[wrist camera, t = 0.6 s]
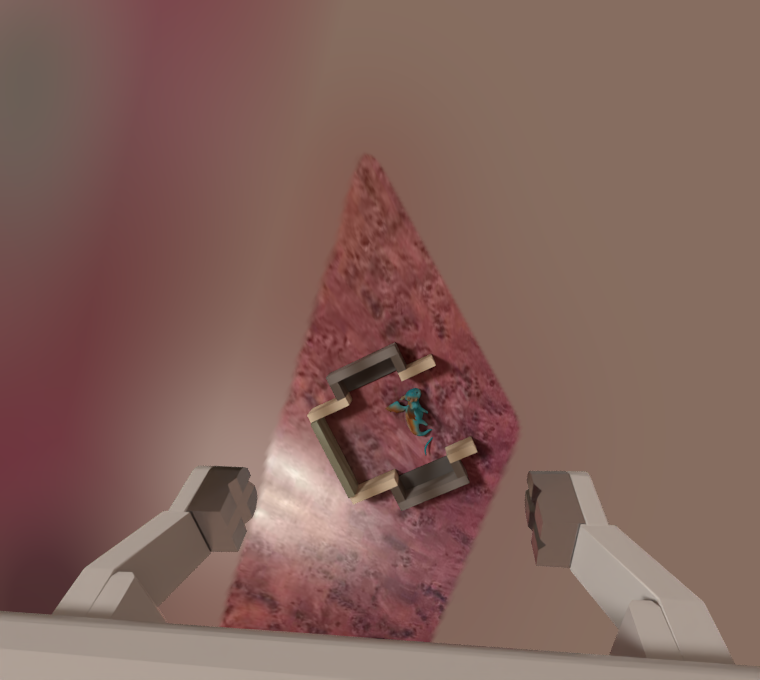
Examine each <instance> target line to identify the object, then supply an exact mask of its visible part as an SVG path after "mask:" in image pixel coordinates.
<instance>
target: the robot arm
mask: <svg viewBox="0 0 760 680" xmlns="http://www.w3.org/2000/svg"><path fill="white" fill-rule="evenodd" d="M250 476H251V475H250V472H249V470H248V468H245V467H225V466H198V467H196V468H195V469H194V470H193V471H192V473H191V474H190V476H189V478H188V479H187V481H186V483H185V484H184V486H183V488H182V489H181V491H180V492H179V494H178V496H177V497H176V499H175V501H174V503H173V504H172V506H171V507H170V509H169V510H168V511H163V512H162V513H160V514H159V515H158V516H156V517H155V518H153V519H152V520H151V521H149V522H148V523H146V524H145V525H144V526H142V527H141V528H139V529H138V530H137V531H135V532H134V533H133V534H131V535H130V536H128V537H127V538H126V539H124V540H123V541H121V542H120V543H119V544H117V545H116V546H114V547H113V548H112V549H110V550H109V551H108V552H106V553H105V554H103V555H102V556H101V557H99V558H98V559H96V560H95V561H94V562H92V563H91V564H90V565H88V566H87V567H85V568H84V570H83V571H82V572H81V574H80V575H79V577H78V578H77V580H76V581H75V582H74V584H73V585H72V587H71V588H70V589H69V591H68V592H67V594H66V595H65V597H64V598H63V599H62V601H61V602H60V603H59V605H58V606H57V608H56V609H55V611H54V612H53V613H52V615H47V614H46V615H45V614H32V613H19V612H5V611H0V680H760V666H747V665H735V663H734V661H733V659H732V657H731V655H730V653H729V651H728V649H727V647H726V645H725V643H724V641H723V639H722V637H721V635H720V633H719V631H718V629H717V627H716V625H715V623H714V621H713V619H712V617H711V615H710V613H709V612H708V609H707V607H706V605H705V604H704V602H703V601H702V600H701V599H699V598H698V597H697V596H696V595H695V594H694V593H692V592H691V591H690V590H689V589H688V588H687V587H686V586H684V585H683V584H682V583H681V582H680V581H679V580H678V579H677V578H675V577H674V576H673V575H672V574H671V573H670V572H668V571H667V570H666V569H665V568H664V567H663V566H662V565H660V564H659V563H658V562H657V561H656V560H655V559H654V558H652V557H651V556H650V555H649V554H648V553H647V552H646V551H644V550H643V549H642V548H641V547H640V546H639V545H637V544H636V543H635V542H634V541H633V540H632V539H631V538H629V537H628V536H627V535H626V534H625V533H624V532H622V531H621V530H620V529H619V528H618V527H617V526H614V525H609V523H608V520H607V517H606V515H605V512H604V510H603V507H602V505H601V502H600V499H599V497H598V495H597V492H596V490H595V487H594V484H593V482H592V479H591V477H590V475H589V473H587V472H574V471H571V472H570V471H568V472H566V471H529V472H528V476H527V483H528V488H529V489H528V490H527V491H526V493H525V512H526V519H527V524H528V527H529V528H530V529H531V530H532V539H531V544H532V548H533V553H534V558H535V562H536V565H537V566H550V567H564V568H570V570H571V571H572V573H573V574H574V575H575V576H576V578H577V579H578V580H579V581H580V583H581V584H582V585H583V586H584V587H585V589H586V590H587V591H588V592H589V594H590V595H591V596H592V597H593V598H594V600H595V601H596V602H597V603H598V605H599V606H600V607H601V608H602V609H603V611H604V612H605V613H606V614H607V616H608V617H609V618H610V619H611V621H612V622H613V623H614V624H615V625H616V627H617V628H618V629H619V631H618V634H617V637H616V639H615V641H614V644H613V647H612V649H611V652H610V654H609V655H595V654H581V653H568V652H554V651H539V650H527V649H513V648H499V647H485V646H471V645H458V644H444V643H431V642H417V641H403V640H390V639H376V638H363V637H349V636H335V635H322V634H308V633H294V632H280V631H266V630H252V629H238V628H224V627H209V626H197V625H183V624H169V623H167V621H166V619H165V617H164V616H163V614H162V613H161V612H160V610H159V609H158V606H159V605H160V604H161V603H162V602H163V601H164V600H165V599H166V598H167V597H168V596H169V595H170V594H171V593H172V592H173V591H174V590H175V589H176V588H177V587H178V586H179V585H180V584H181V583H182V582H183V581H184V580H185V579H186V578H187V577H188V576H189V575H190V574H191V573H192V572H193V571H194V570H195V569H196V568H197V566H198V565H200V564H201V563H202V562H203V561H204V559H206V558H207V557H208V556H209V555H210V553H211V552H238V551H239V549H240V546H241V544H242V541H243V539H244V537H245V534H246V532H247V530H246V527H245V523H246V522H248V521H249V520H250V519H251V518H252V517H253V515H254V512H255V509H256V504H257V491H256V488H255V485H253V484H252V483H251V482H249V481H248V480H249V478H250Z"/></svg>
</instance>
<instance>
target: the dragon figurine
mask: <svg viewBox="0 0 760 680" xmlns="http://www.w3.org/2000/svg"><path fill="white" fill-rule="evenodd" d="M420 396H421V391H420V389H418V388H413V389H411V390H409V391H408V392H407V393H406V395H405V396H401V399H400V400H404V399H406V400H407V401H408V405H407V406H402V405H400V404H399V402H398V401H396V402H394V403H393V404H391V405H390V406H388V407H387V408H385V409H387V410H388V411H390V412H391V411H394V412H396V413H399V412H403V411H404V410H405V409H406V421H407V423H408V427H409V429H410V431H411V432H412V433H413V434H415V435H417V436H424V435H426V434H427V433H428V432H430V431H432V429H428V430H427V431H424V432H420V431H419V424H424V425H426V426H427V425H428V424H427V423H426V422H425V421H424V420H422V417H423V412H425V413H427V414H428V411H427V410H425V409H423V408H422V407H421V405H420V404H419V398H420ZM432 438H433V437H432ZM432 438H431V439H430V440H429V441H428V442H427V444H426V445H425V455H426V447H427V445H428V444H429V442H430V441H431V440H432Z"/></svg>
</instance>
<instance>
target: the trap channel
mask: <svg viewBox="0 0 760 680" xmlns="http://www.w3.org/2000/svg"><path fill="white" fill-rule="evenodd" d="M434 366H436V364H435V361H434V358H433V356H432V354H429V355H427V356H425V357H423V358H421V359H419V360H416V361H414V362H412V363H410V364H408V365H406V363H405V361H404V359H403V357H402V355H401V353H400V351H399V348H398V346H397V344H396V342H395V343H393V344H391V345H388V346H386V347H384V348H382V349H380V350H378V351H376V352H374V353H372V354H369V355H367V356H365V357H363V358H361V359H359V360H357V361H355V362H353V363H350V364H348V365H346V366H344V367H342V368H340V369H338V370H336V371H334V372H331V373H330V374H329V375H328V376H327V377H326V379H327V381H328V383H329V385H330V387H331V389H332V391H333V393H334V395H335V397H336V398H334V399H332V400H330V401H328V402H326V403H324V404H322V405H319V406H317V407H315V408H313V409H312V410H311V411H310V412H309V414H308V415H307V416H308V418H309V420H310V422H311V426H312V428H313V430H314V432H315V434H316V436H317V438H318V440H319V442H320V444H321V446H322V448H323V450H324V452H325V453H326V455H327V457H328V459H329V461H330V463H331V465H332V467H333V469H334V471H335V473H336V475H337V477H338V479H339V480H340V482H341V484H342V486H343V488H344V490H345V492H346V494H347V496H348V498H350V499H351V501H352V503H353V504H356V503H358V502H360V501H363V500H365V499H367V498H370V497H372V496H375V495H377V494H379V493H382V492H384V491H386V490H389V489H390V490H391V492H392V494H393V496H394V498H395V499H396V501H397V503H398V505H399V507H400V509H401V511H403V510H405V509H407V508H410V507H412V506H415V505H417V504H420V503H422V502H424V501H427V500H429V499H432V498H434V497H437V496H439V495H441V494H444V493H446V492H449V491H451V490H454V489H456V488H458V487H461V486H463V485H466V484H468V483H470V482H469V478H468V475H467V472H466V470H465V468H464V466H463V464H462V462H461V460H460V459H462V458H465V457H467V456H469V455H472V454H474V453H476V452H477V449H476V446H475V444H474V441H473V439H472V437H468V438H466V439H464V440H461V441H459V442H457V443H454V444H452V445H450V446H447V447H445V449H446V454H447V456H444V457H442V458H440V459H437V460H435V461H433V462H430V463H428V464H426V465H423V466H421V467H419V468H416V469H414V470H412V471H409V472H407V473H404V474H402V475H400V476H399V475H398V473H397V471H396V469H394V470H391V471H389V472H387V473H384V474H382V475H380V476H377V477H375V478H373V479H370V480H368V481H366V482H363V483H361V484H359V485H358V482H357V480H356V478H355V476H354V474H353V472H352V470H351V468H350V466H349V465H348V463H347V461H346V459H345V457H344V455H343V453H342V451H341V449H340V447H339V445H338V443H337V441H336V439H335V437H334V435H333V433H332V431H331V430H330V428H329V426H328V424H327V422H326V420H325V418H324V417H325V416H327V415H329V414H331V413H333V412H336V411H338V410H340V409H342V408H344V407H347V406H349V405H350V403H351V401H352V397H351V395H350V393H349V392H350V391H352V390H354V389H357V388H359V387H361V386H363V385H365V384H367V383H370V382H372V381H374V380H376V379H378V378H380V377H382V376H385V375H387V374H389V373H391V372H393V371H395V370H397V372H398V374H399V376H400V378H401V380H402V381H403V380H405V379H408V378H410V377H412V376H414V375H416V374H419V373H421V372H423V371H425V370H427V369H429V368H432V367H434Z"/></svg>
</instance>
